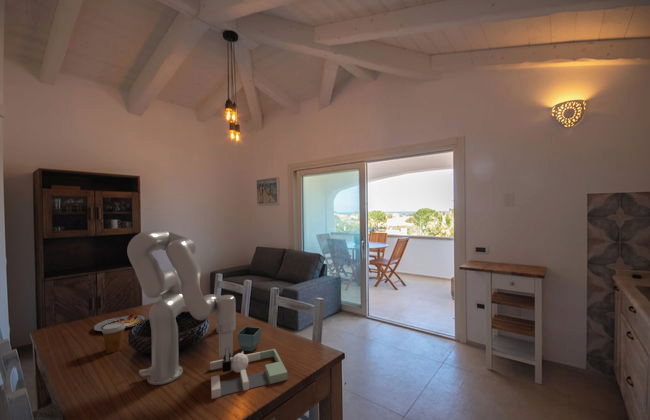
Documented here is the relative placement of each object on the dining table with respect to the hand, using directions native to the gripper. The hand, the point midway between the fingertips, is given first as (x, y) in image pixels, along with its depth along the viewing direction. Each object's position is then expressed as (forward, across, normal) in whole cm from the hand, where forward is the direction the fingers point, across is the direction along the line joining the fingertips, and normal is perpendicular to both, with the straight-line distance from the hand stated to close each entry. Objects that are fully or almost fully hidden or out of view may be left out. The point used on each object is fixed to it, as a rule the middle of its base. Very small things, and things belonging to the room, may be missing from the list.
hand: (226, 370), depth 117 cm
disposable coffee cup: (+2, -44, -49) cm, 66 cm away
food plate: (+2, -79, -54) cm, 96 cm away
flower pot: (+2, -18, +12) cm, 21 cm away
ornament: (+2, 0, +5) cm, 5 cm away
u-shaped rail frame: (+1, +4, +8) cm, 9 cm away
